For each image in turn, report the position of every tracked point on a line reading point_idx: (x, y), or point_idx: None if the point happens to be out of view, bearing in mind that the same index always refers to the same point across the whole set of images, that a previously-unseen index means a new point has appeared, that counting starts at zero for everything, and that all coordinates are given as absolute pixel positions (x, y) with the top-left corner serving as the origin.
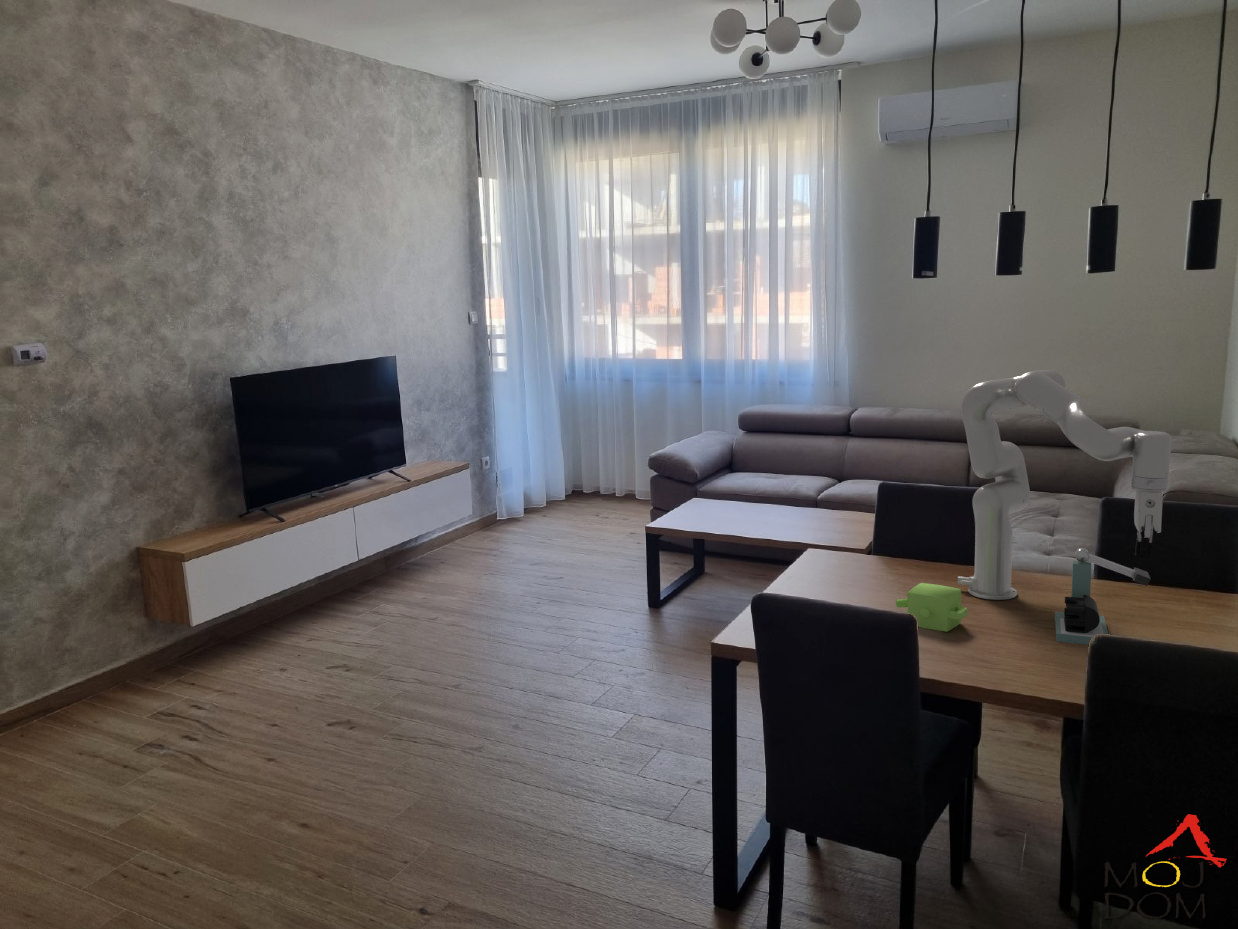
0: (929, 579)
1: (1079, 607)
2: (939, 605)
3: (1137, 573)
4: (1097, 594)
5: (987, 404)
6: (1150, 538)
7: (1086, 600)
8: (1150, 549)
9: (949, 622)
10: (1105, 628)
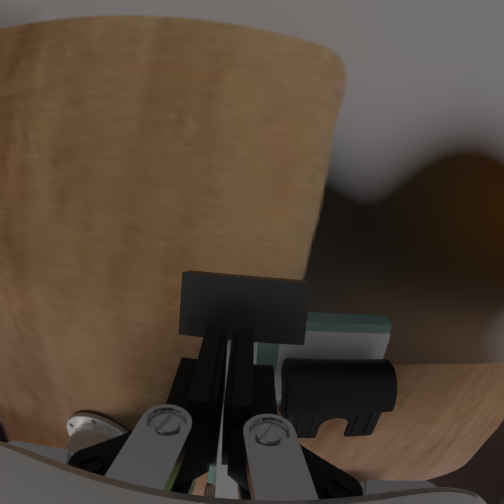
0: None
1: (376, 416)
2: None
3: (293, 342)
4: (18, 276)
5: None
6: (300, 461)
7: (340, 410)
8: (252, 371)
9: None
10: (323, 325)
